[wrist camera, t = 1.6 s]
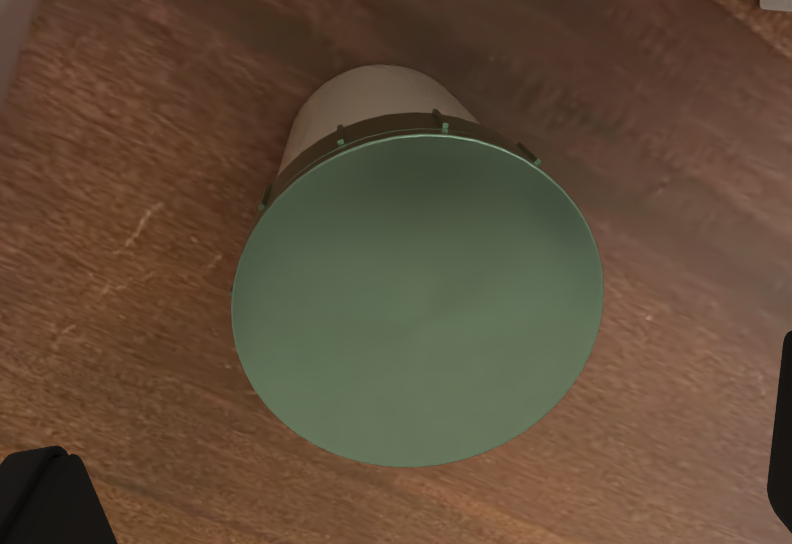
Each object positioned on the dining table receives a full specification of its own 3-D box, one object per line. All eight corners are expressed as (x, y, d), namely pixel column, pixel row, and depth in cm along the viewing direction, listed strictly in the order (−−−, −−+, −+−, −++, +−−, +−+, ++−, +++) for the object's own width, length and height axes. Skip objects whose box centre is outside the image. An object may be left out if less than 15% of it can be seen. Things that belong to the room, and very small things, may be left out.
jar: (323, 32, 20) (312, 83, 11) (507, 107, 22) (645, 213, 12) (261, 216, 23) (206, 396, 13) (431, 274, 24) (496, 474, 14)
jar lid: (307, 55, 12) (302, 68, 10) (630, 184, 13) (673, 214, 12) (204, 364, 14) (186, 418, 12) (487, 443, 16) (506, 501, 14)
